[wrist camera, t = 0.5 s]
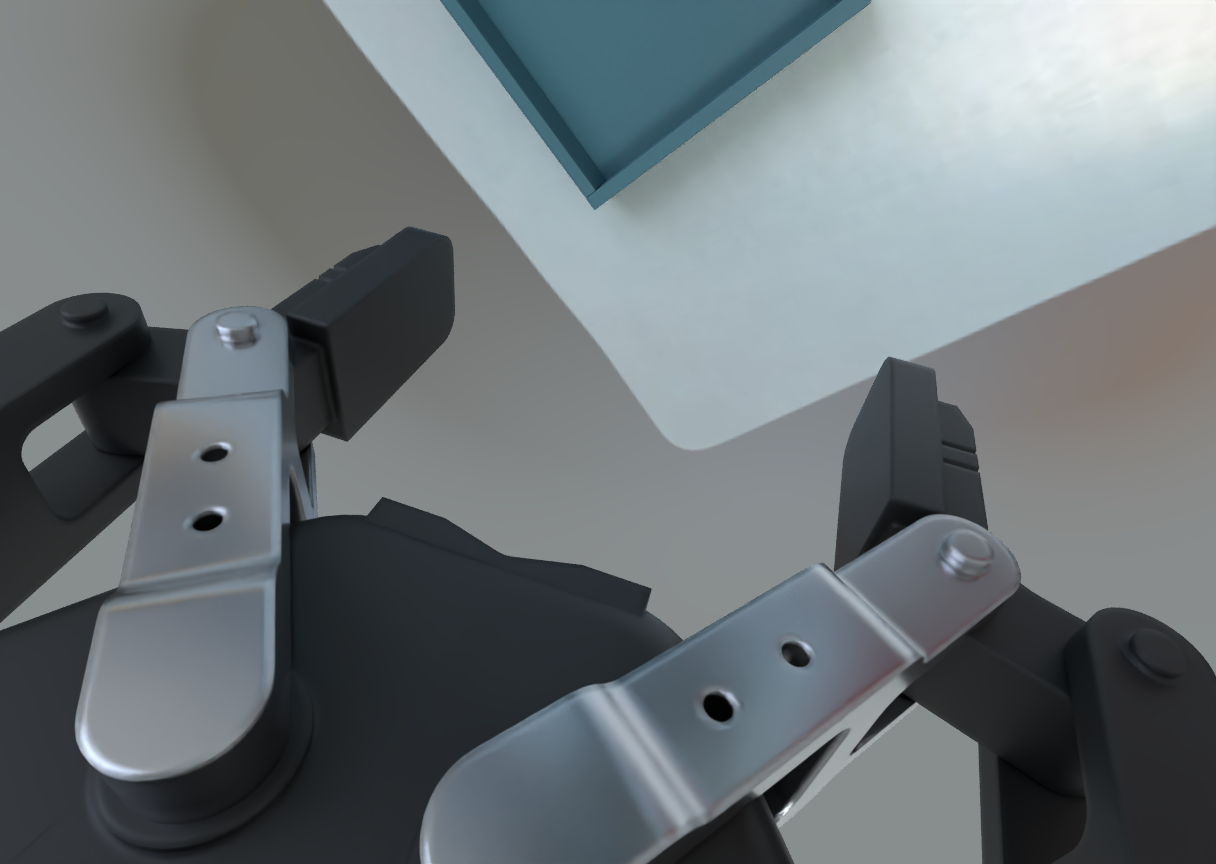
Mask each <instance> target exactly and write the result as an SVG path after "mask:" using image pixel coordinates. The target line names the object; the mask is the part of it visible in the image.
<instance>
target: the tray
mask: <svg viewBox="0 0 1216 864" xmlns="http://www.w3.org/2000/svg"><path fill="white" fill-rule="evenodd" d="M440 1H441V2H442V4H443V5H444V6H445V8H446V9H447V10H448V12H449V13H450V14H451V16H452V17H453V19H454V20H455V21H456V23H457V24H458V25H459V27H460V28H461V29H462V31H463V32H464V33H465V35H466V36H467V37H468V39H469V40H470V42H471V43H472V44H473V46H474V47H475V48H476V50H477V51H478V52H479V54H480V55H481V56H482V58H483V59H484V61H485V62H486V63H487V65H488V66H489V67H490V69H491V70H492V71H493V73H494V74H495V75H496V77H497V78H498V80H499V81H500V82H501V84H502V85H503V86H504V88H505V89H506V90H507V92H508V93H509V94H510V96H511V97H512V98H513V100H514V101H515V103H516V104H517V105H518V107H519V108H520V109H521V111H522V112H523V113H524V115H525V116H526V117H527V119H528V120H529V122H530V123H531V124H532V126H533V127H534V128H535V130H536V131H537V132H538V134H539V135H540V136H541V138H542V139H543V140H544V142H545V143H546V145H547V146H548V147H549V149H550V150H551V151H552V153H553V154H554V155H555V157H556V158H557V159H558V161H559V162H560V164H561V165H562V166H563V168H564V169H565V170H566V172H567V173H568V174H569V176H570V177H571V178H572V180H573V181H574V183H575V184H576V185H577V187H578V188H579V189H580V191H581V192H582V193H583V195H584V196H585V197H586V199H587V201H588V202H589V203H590V205H591V206H592V207H593V209H594V210H595V209H597V208H598V207H599V206H601V205H602V204H603V203H605V202H606V201H607V200H609V199H610V198H611V197H613V196H614V195H615V194H617V193H618V192H619V191H621V190H622V189H623V188H625V187H626V186H627V185H629V184H630V183H631V182H633V181H634V180H635V179H637V178H638V177H639V176H641V175H642V174H643V173H645V172H646V171H647V170H649V169H650V168H651V167H653V166H654V165H655V164H657V163H658V162H659V161H661V160H662V159H663V158H665V157H666V156H667V155H669V154H670V153H671V152H673V151H674V150H675V149H677V148H678V147H679V146H681V145H682V144H683V143H685V142H686V141H687V140H689V139H690V138H691V137H693V136H694V135H695V134H697V133H698V132H699V131H701V130H702V129H703V128H705V127H706V126H707V125H709V124H710V123H711V122H713V121H714V120H715V119H717V118H718V117H719V116H721V115H722V114H723V113H725V112H726V111H727V110H729V109H730V108H731V107H733V106H734V105H735V104H737V103H738V102H739V101H741V100H742V99H743V98H745V97H746V96H747V95H749V94H750V93H751V92H753V91H754V90H755V89H757V88H758V87H759V86H761V85H762V84H763V83H765V82H766V81H767V80H769V79H770V78H771V77H773V76H774V75H775V74H777V73H778V72H779V71H781V70H782V69H783V68H785V67H786V66H787V65H789V64H790V63H791V62H793V61H794V60H795V59H797V58H798V57H799V56H801V55H802V54H803V53H805V52H806V51H807V50H809V49H810V48H811V47H813V46H814V45H815V44H817V43H818V42H819V41H821V40H822V39H823V38H825V37H826V36H827V35H829V34H830V33H831V32H833V31H834V30H835V29H837V28H838V27H839V26H841V25H842V24H843V23H845V22H846V21H847V20H849V19H850V18H851V17H853V16H854V15H855V14H857V13H858V12H859V11H861V10H862V9H863V8H865V7H866V6H867V5H869V4H870V3H871V0H440Z"/></svg>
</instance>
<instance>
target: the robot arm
mask: <svg viewBox="0 0 1216 864" xmlns="http://www.w3.org/2000/svg"><path fill="white" fill-rule="evenodd" d="M453 264H454V261H453V246H452V243H451V240H450V239H449V238H448V237H447V236H444V235H440V234H436V233H433V232H429V231H425V230H422V229H418V228H414V227H406V228H404V229H403V230H402V231H400V232H399V233H397V234H396V235H394V236H393V237H392V238H390V239H389V240H388V241H386V242H385V243H383V244H382V245H376V246H373V247H370V248H367V249H364V250H361V251H358V252H354V253H352V254H350V255H349V256H347V257H346V258H344V259H343V260H342V261H340V262H339V263H337V264H336V265H334V269H329V270H327V271H326V272H324V273H323V274H321V275H320V276H319V279H314V280H313V281H311V282H310V283H308V284H307V285H305V286H304V287H303V288H301V289H300V290H298V291H297V292H295V293H294V294H292V295H291V296H289V297H288V298H287V299H285V300H284V301H282V302H281V303H279V304H278V305H276V306H275V307H274V308H272V309H271V310H270V309H266V308H262V307H254V306H238V307H230V308H225V309H221V310H217V311H214V312H212V313H209V314H207V315H205V316H203V317H201V318H200V319H198V320H197V321H196V322H194V324H192V326H191V327H190V329H189V330H184V329H171V328H159V327H148V326H147V323H146V321H145V318H144V315H143V313H142V310H141V307H140V305H139V304H138V302H136V301H135V300H134V299H132V298H130V297H127V296H124V295H120V294H114V293H90V294H83V295H77V296H73V297H69V298H66V299H62V300H60V301H57V302H54V303H53V304H50V305H49V306H46V307H45V308H43V309H41V310H39V311H38V312H36V313H34V314H32V315H30V316H28V317H26V318H25V319H23V320H21V321H19V322H17V323H16V324H14V325H12V326H11V327H8V328H7V329H5V330H3V331H1V332H0V623H1V622H2V621H3V620H4V619H5V618H6V617H7V616H8V615H9V614H11V613H12V612H13V611H14V610H15V609H16V608H17V607H18V606H19V605H21V604H22V603H23V602H24V601H25V600H26V599H27V598H28V597H29V596H31V595H32V594H33V593H34V592H35V591H36V590H37V589H38V588H39V587H41V585H43V584H44V583H45V582H46V581H47V580H48V579H49V578H51V577H52V576H53V575H54V574H55V573H56V572H57V571H58V570H59V569H61V567H63V566H64V565H65V564H66V563H67V562H68V561H69V560H71V559H72V558H73V557H74V556H75V555H76V554H77V553H78V552H79V551H81V550H82V549H83V548H84V547H85V546H86V545H87V544H88V543H89V542H91V540H93V539H94V538H95V537H96V536H97V535H98V534H99V533H101V531H103V530H104V529H105V528H106V527H107V526H108V525H109V524H111V523H112V522H113V521H114V520H115V519H116V518H117V517H118V516H119V515H121V514H122V513H123V512H124V511H125V510H126V509H127V508H128V507H129V506H131V505H132V504H133V503H134V502H135V501H136V504H135V510H134V515H133V519H132V524H131V529H130V534H129V539H128V544H127V549H126V554H125V559H124V564H123V570H122V574H121V579H120V583H119V586H118V588H115V589H112V590H109V591H107V592H104V593H101V594H99V595H96V596H93V597H91V598H88V599H85V600H82V601H79V602H77V603H74V604H71V605H69V606H66V607H63V608H60V609H58V610H55V611H52V612H50V613H47V614H44V615H41V616H39V617H36V618H33V619H31V620H28V621H25V622H22V623H20V624H17V625H14V626H12V627H9V628H6V629H3V630H1V631H0V864H794V862H793V860H792V858H791V855H790V853H789V851H788V849H787V847H786V844H785V842H784V840H783V838H782V836H781V834H780V831H779V829H778V828H780V827H781V826H782V825H783V824H784V823H786V822H787V821H788V820H789V819H790V818H791V817H792V816H794V815H795V814H796V813H797V812H798V811H799V810H800V809H801V808H803V807H804V806H805V805H806V804H807V803H808V802H809V801H810V800H811V799H812V798H813V797H814V796H815V795H816V794H817V793H818V792H819V791H820V790H821V789H822V788H823V787H824V786H825V785H826V784H827V783H828V782H829V781H830V780H831V779H832V778H833V777H834V776H835V775H836V774H837V773H838V772H839V771H841V770H842V769H843V768H844V767H845V766H846V765H847V764H849V763H850V762H851V761H852V760H853V759H855V758H856V757H857V756H858V755H859V754H861V753H862V752H863V751H864V750H865V749H866V748H868V747H869V746H870V745H871V744H872V743H874V742H875V741H876V740H877V739H878V738H880V737H881V736H882V735H883V734H884V733H886V732H887V731H888V730H889V729H890V728H892V727H893V726H894V725H895V724H896V723H897V722H898V721H900V720H901V719H902V718H903V717H905V716H906V715H907V714H908V713H909V712H911V711H912V710H913V709H914V708H915V707H917V706H918V705H919V704H920V705H921V706H923V707H925V708H926V709H928V710H929V711H931V712H932V713H934V714H935V715H937V716H938V717H940V718H941V719H943V720H944V721H946V722H948V723H949V724H950V725H952V726H953V727H955V728H956V729H958V730H960V731H961V732H962V733H964V734H966V735H967V736H969V737H970V738H972V739H973V740H975V741H976V742H978V745H979V746H978V747H979V777H980V805H981V832H982V833H981V836H982V864H1216V676H1215V674H1214V672H1213V670H1212V668H1211V667H1210V665H1209V664H1208V662H1207V661H1206V660H1205V659H1204V657H1203V656H1202V655H1201V653H1200V652H1199V651H1197V649H1196V648H1195V647H1194V646H1193V645H1192V644H1191V643H1189V642H1188V641H1187V640H1186V639H1185V638H1184V637H1183V636H1181V635H1180V634H1179V633H1177V632H1176V631H1175V630H1173V629H1172V628H1170V627H1168V626H1167V625H1165V624H1164V623H1162V622H1160V621H1158V620H1157V619H1155V618H1153V617H1150V616H1148V615H1146V614H1143V613H1140V612H1137V611H1134V610H1131V609H1125V608H1106V609H1102V610H1100V611H1098V612H1096V613H1095V614H1094V615H1093V616H1092V617H1091V618H1090V619H1089V620H1088V621H1087V622H1085V621H1083V620H1082V619H1080V618H1078V617H1076V616H1074V615H1072V614H1071V613H1069V612H1067V611H1065V610H1063V609H1062V608H1060V607H1058V606H1056V605H1054V604H1052V603H1051V602H1049V601H1047V600H1045V599H1044V598H1042V597H1040V596H1039V595H1037V594H1035V593H1034V592H1032V591H1030V590H1029V589H1028V588H1026V587H1025V586H1024V585H1022V584H1021V583H1020V582H1021V573H1020V568H1019V565H1018V562H1017V561H1016V559H1015V557H1014V555H1013V554H1012V553H1011V551H1010V550H1009V549H1008V547H1007V546H1006V545H1005V544H1004V543H1003V542H1002V541H1001V540H1000V539H998V538H997V537H996V536H995V535H994V534H992V533H991V532H989V531H988V525H987V519H986V512H985V505H984V499H983V492H982V486H981V478H980V473H979V472H978V469H979V466H978V458H977V455H976V454H975V452H976V446H975V438H974V431H973V428H972V426H971V425H970V424H969V422H968V421H967V419H966V418H965V417H964V415H963V414H962V412H961V411H960V409H959V408H958V407H957V406H955V405H951V404H948V403H944V402H940V401H938V397H937V386H936V375H935V370H934V369H933V368H929V367H926V366H922V365H918V364H914V363H911V362H907V361H903V360H900V359H896V358H892V357H888V358H887V359H886V360H885V361H884V363H883V365H882V366H881V368H880V370H879V373H878V375H877V377H876V379H875V381H874V383H873V385H872V387H871V390H870V392H869V394H868V396H867V398H866V400H865V403H864V404H863V407H862V409H861V411H860V413H859V415H858V417H857V419H856V422H855V424H854V426H853V428H852V431H851V433H850V436H849V439H848V442H847V446H846V449H845V454H844V458H843V468H842V481H841V493H840V504H839V517H838V529H837V540H836V552H835V564H834V572H833V571H832V570H830V569H829V568H828V567H827V566H826V565H825V564H824V563H817V564H814V565H811V566H809V567H807V568H805V569H804V570H802V571H800V572H799V573H797V574H795V575H793V576H792V577H790V578H788V579H787V580H785V581H783V582H782V583H780V584H778V585H777V586H775V587H773V588H772V589H770V590H768V591H766V592H765V593H763V594H761V595H760V596H758V597H756V598H755V599H753V600H751V601H750V602H748V603H746V604H745V605H743V606H741V607H739V608H738V609H736V610H734V611H733V612H731V613H729V614H728V615H726V616H724V617H723V618H721V619H719V620H717V621H716V622H714V623H713V624H711V625H709V626H707V627H706V628H704V629H702V630H701V631H699V632H697V633H696V634H694V635H692V636H690V637H689V638H687V639H685V640H684V641H683V640H682V639H681V638H680V637H679V636H678V635H677V634H676V633H675V632H674V631H673V630H672V629H671V628H669V627H668V626H667V625H666V624H665V623H663V622H662V621H661V620H660V619H658V618H657V617H655V616H654V615H652V614H651V613H649V612H648V611H646V608H647V604H648V601H649V597H650V593H651V588H648V587H645V586H642V585H639V584H636V583H633V582H631V581H627V580H624V579H622V578H619V577H616V576H613V575H610V574H607V573H604V572H601V571H598V570H595V569H592V568H589V567H586V566H584V565H577V564H569V563H561V562H552V561H543V560H535V559H527V558H519V557H510V556H506V555H503V554H501V553H499V552H497V551H496V550H494V549H493V548H491V547H490V546H488V545H486V544H485V543H483V542H482V541H480V540H479V539H477V538H475V537H474V536H472V535H471V534H469V533H468V532H466V531H464V530H463V529H461V528H460V527H458V526H457V525H455V524H453V523H452V522H450V521H449V520H447V519H445V518H443V517H440V516H437V515H434V514H431V513H428V512H425V511H422V510H419V509H416V508H413V507H410V506H407V505H405V504H402V503H398V502H396V501H393V500H390V499H387V498H384V497H382V498H381V499H380V501H379V502H378V503H377V504H376V505H375V507H374V508H373V509H372V511H371V512H370V513H369V514H368V515H367V516H364V515H335V516H325V517H319V518H318V502H317V482H316V464H315V451H314V447H313V443H312V441H313V440H314V439H315V438H316V437H317V436H318V435H319V434H320V433H322V434H326V435H329V436H332V437H335V438H338V439H341V440H344V441H349V440H350V439H351V438H352V437H353V436H354V434H355V433H356V432H357V431H358V430H359V429H360V428H361V427H362V426H363V425H364V424H365V423H366V422H367V421H368V420H369V419H370V418H371V417H372V416H373V415H374V414H375V413H376V412H377V411H378V410H379V409H380V408H381V407H382V406H383V405H384V404H385V403H386V401H387V400H388V399H389V398H390V397H391V396H392V395H393V394H394V393H395V392H396V391H397V390H398V389H399V388H400V387H401V386H402V385H403V384H404V383H405V382H406V381H407V380H408V379H409V378H410V377H411V376H412V374H414V373H415V372H416V370H417V369H418V368H419V367H420V366H421V365H422V364H423V363H424V362H425V361H426V360H427V359H428V358H429V357H430V356H431V355H432V354H433V353H434V352H435V351H436V350H437V349H438V348H439V347H440V346H441V345H442V344H443V343H444V341H445V340H446V339H447V337H448V335H449V334H450V331H451V328H452V326H453V322H454V316H455V295H454V265H453ZM70 403H72V404H73V406H74V408H75V410H76V412H77V414H78V416H79V418H80V420H81V422H82V424H83V426H84V428H85V431H83V432H82V433H81V434H79V435H78V436H77V437H75V438H74V439H73V440H71V441H70V442H69V443H67V444H66V445H65V446H63V447H62V448H61V449H59V450H58V451H57V452H55V453H54V454H53V455H51V456H50V457H48V458H47V459H46V460H44V461H43V462H42V463H40V464H39V465H38V466H37V467H35V468H34V469H32V470H31V471H30V472H28V470H27V468H26V467H25V465H24V463H23V461H22V457H21V451H22V446H23V443H24V441H25V439H26V437H27V436H28V435H29V433H30V432H31V431H32V430H33V429H35V428H36V427H37V426H39V425H40V424H42V423H43V422H44V421H46V420H47V419H49V418H50V417H51V416H53V415H55V414H56V413H57V412H59V411H60V410H62V409H63V408H64V407H66V406H67V405H69V404H70Z"/></svg>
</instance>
